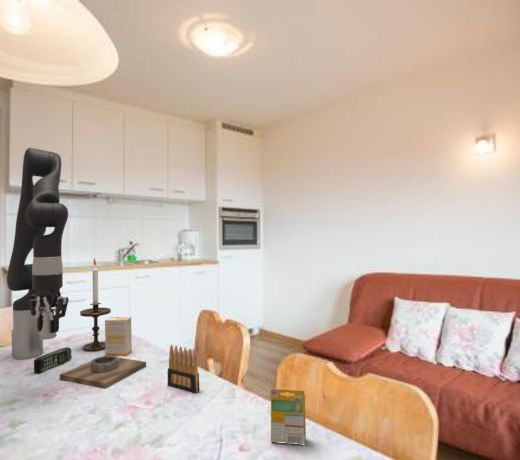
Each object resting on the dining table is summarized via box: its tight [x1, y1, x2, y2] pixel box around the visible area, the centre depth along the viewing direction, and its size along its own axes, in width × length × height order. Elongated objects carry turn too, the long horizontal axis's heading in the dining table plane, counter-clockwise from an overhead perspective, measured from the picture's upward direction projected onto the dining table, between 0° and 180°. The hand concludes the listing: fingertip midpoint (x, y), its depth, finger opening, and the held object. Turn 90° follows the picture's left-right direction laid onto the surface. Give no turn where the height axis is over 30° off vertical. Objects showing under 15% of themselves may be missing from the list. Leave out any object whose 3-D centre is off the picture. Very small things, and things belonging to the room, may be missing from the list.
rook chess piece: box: [39, 309, 58, 341], centre depth 105 cm, size 4×4×8 cm
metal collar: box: [91, 355, 120, 373], centre depth 117 cm, size 8×8×2 cm
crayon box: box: [270, 388, 307, 445], centre depth 79 cm, size 7×3×12 cm, turn 81°
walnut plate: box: [59, 354, 147, 389], centre depth 117 cm, size 18×18×2 cm
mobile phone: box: [33, 347, 73, 375], centre depth 124 cm, size 5×3×15 cm
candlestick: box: [79, 258, 112, 353], centre depth 142 cm, size 11×11×35 cm
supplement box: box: [104, 316, 133, 356], centre depth 135 cm, size 8×5×13 cm, turn 84°
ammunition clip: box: [166, 344, 200, 394], centre depth 105 cm, size 11×2×12 cm, turn 60°
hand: (48, 331), depth 105 cm, fingers closed on rook chess piece, 4 cm apart
